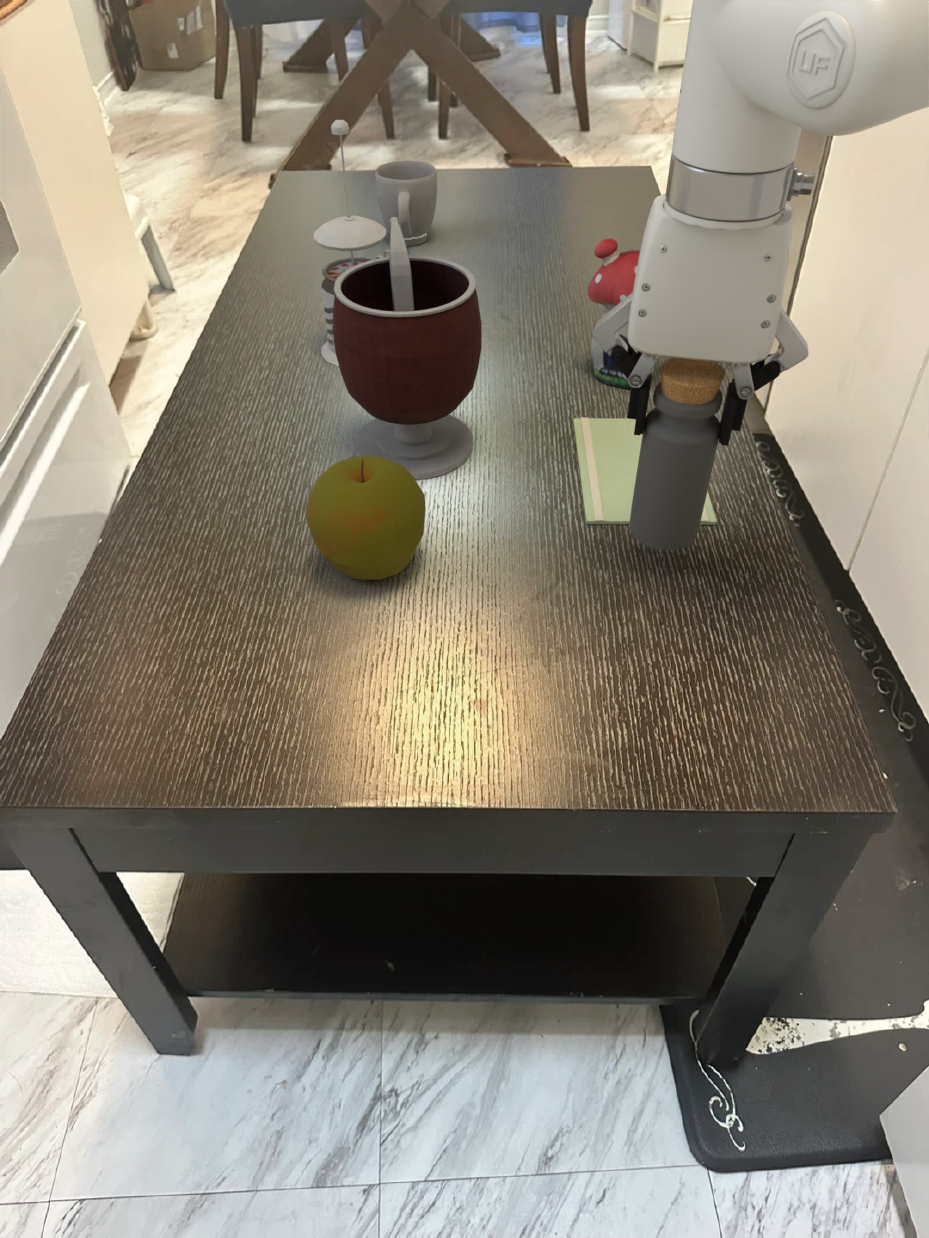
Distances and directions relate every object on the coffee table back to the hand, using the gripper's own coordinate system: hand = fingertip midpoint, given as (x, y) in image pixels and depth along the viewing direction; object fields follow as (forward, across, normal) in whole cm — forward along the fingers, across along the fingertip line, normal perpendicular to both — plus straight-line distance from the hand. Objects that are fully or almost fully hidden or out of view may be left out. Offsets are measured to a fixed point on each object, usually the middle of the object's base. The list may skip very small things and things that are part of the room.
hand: (681, 429), depth 69 cm
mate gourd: (+13, +26, -14) cm, 33 cm away
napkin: (+13, +3, -14) cm, 19 cm away
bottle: (+10, 0, 0) cm, 10 cm away
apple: (+13, +24, +6) cm, 29 cm away
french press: (+14, +37, -32) cm, 51 cm away
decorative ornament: (+13, +7, -33) cm, 36 cm away
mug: (+14, +41, -66) cm, 79 cm away
